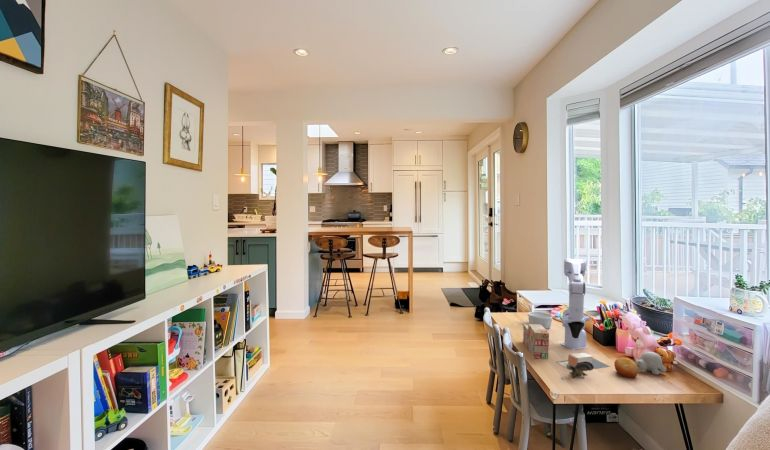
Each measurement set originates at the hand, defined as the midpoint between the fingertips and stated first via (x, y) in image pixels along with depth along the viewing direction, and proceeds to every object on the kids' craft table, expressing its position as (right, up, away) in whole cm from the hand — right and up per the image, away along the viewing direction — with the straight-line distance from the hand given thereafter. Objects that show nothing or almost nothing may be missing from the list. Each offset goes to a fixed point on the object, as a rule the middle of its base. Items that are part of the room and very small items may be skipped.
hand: (575, 337), depth 159 cm
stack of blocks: (-14, -10, +10) cm, 20 cm away
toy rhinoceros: (+24, -11, -12) cm, 29 cm away
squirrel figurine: (-8, -10, -18) cm, 22 cm away
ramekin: (+5, -9, +47) cm, 48 cm away
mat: (0, -10, -6) cm, 12 cm away
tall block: (+3, -8, -6) cm, 10 cm away
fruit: (+12, -11, -16) cm, 23 cm away
